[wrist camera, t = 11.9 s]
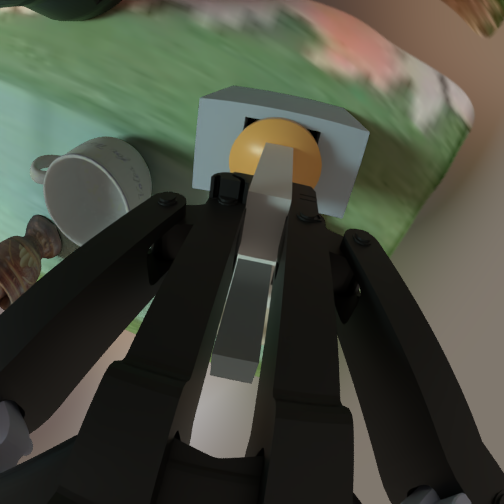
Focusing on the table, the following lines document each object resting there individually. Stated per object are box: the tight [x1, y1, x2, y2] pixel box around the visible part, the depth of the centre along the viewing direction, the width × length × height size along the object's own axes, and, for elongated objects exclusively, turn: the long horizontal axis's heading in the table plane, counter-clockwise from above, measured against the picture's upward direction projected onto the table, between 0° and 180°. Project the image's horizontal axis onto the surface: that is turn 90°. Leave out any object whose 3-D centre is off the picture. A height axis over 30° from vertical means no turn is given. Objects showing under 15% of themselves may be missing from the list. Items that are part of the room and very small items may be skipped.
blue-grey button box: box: [192, 86, 370, 218], centre depth 21 cm, size 6×10×10 cm, turn 81°
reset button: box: [229, 117, 322, 189], centre depth 19 cm, size 5×5×7 cm
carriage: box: [210, 254, 277, 383], centre depth 24 cm, size 8×8×14 cm
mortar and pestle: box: [0, 215, 62, 310], centre depth 30 cm, size 12×9×20 cm
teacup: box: [30, 137, 152, 247], centre depth 26 cm, size 14×11×8 cm
